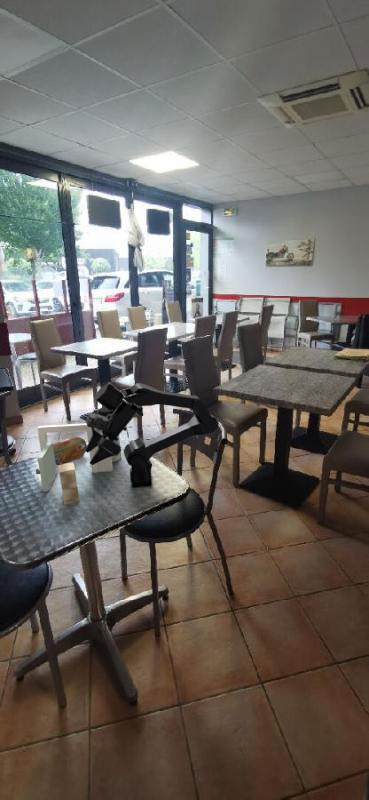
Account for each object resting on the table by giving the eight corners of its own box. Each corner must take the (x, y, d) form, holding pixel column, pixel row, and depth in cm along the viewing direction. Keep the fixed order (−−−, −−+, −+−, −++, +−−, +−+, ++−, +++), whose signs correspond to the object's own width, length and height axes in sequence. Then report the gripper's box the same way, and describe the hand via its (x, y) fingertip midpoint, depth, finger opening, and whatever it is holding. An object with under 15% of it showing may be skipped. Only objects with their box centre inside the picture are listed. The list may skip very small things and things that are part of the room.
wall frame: (112, 468, 142) (107, 421, 136) (112, 471, 140) (106, 424, 134) (47, 472, 141) (39, 425, 135) (45, 476, 139) (37, 428, 133)
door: (47, 491, 128) (42, 457, 124) (38, 491, 128) (32, 458, 124) (57, 472, 139) (52, 441, 136) (48, 473, 139) (43, 442, 135)
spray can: (125, 456, 150) (120, 407, 144) (113, 464, 145) (107, 413, 139) (111, 453, 154) (106, 404, 147) (99, 460, 148) (93, 410, 142)
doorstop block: (77, 493, 127) (73, 462, 124) (79, 501, 123) (74, 469, 119) (62, 496, 126) (58, 465, 122) (64, 504, 121) (59, 472, 118)
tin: (51, 468, 144) (47, 447, 141) (47, 465, 146) (44, 445, 143) (88, 455, 153) (85, 435, 150) (84, 452, 155) (81, 432, 153)
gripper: (94, 395, 127) (64, 433, 127) (105, 413, 111) (70, 457, 111) (121, 414, 132) (91, 450, 132) (135, 434, 116) (101, 476, 116)
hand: (88, 457), depth 123 cm, fingers open, 9 cm apart
